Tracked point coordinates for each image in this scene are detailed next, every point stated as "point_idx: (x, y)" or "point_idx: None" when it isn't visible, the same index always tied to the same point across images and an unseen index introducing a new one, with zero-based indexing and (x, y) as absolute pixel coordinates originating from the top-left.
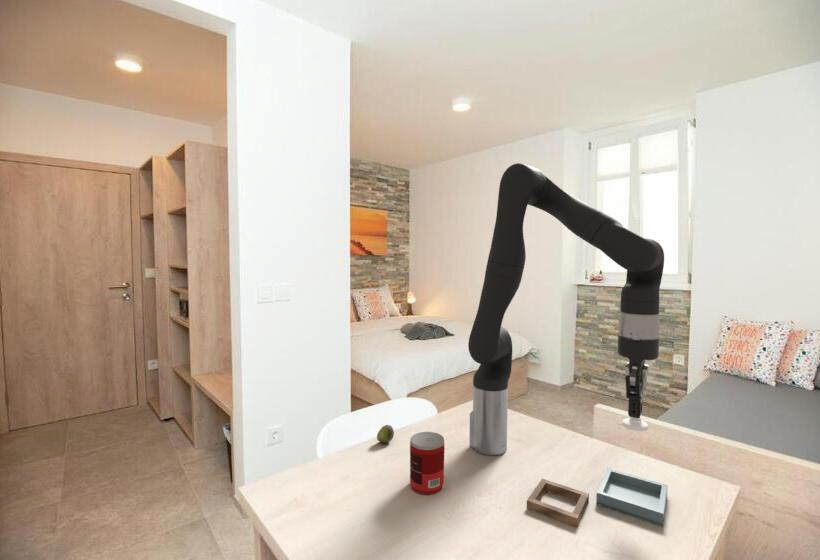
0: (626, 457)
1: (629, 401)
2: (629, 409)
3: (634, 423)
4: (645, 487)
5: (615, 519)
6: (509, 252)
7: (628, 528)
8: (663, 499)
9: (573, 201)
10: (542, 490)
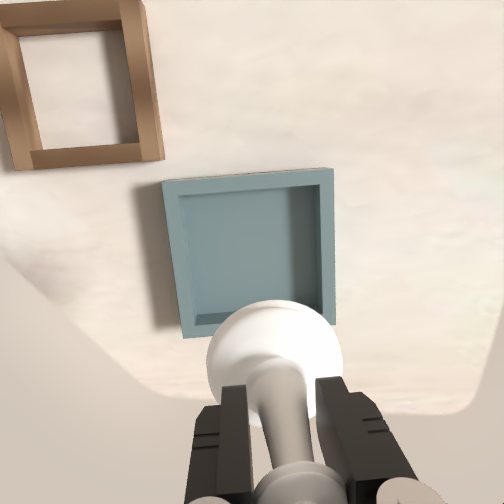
0: (497, 182)
1: (215, 480)
2: (220, 422)
3: (236, 384)
4: (317, 271)
5: (137, 235)
6: None
7: (123, 267)
8: None
9: None
10: (86, 25)
